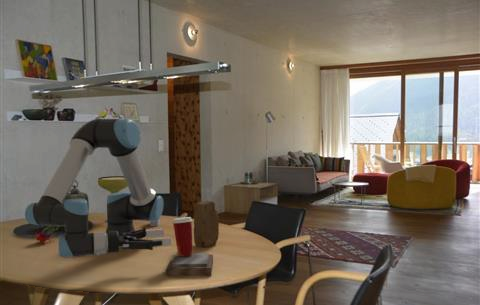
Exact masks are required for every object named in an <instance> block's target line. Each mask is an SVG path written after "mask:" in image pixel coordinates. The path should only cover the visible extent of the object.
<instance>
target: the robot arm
mask: <svg viewBox="0 0 480 305" xmlns="http://www.w3.org/2000/svg"><path fill="white" fill-rule="evenodd" d="M140 131H141V130H140V128H139V126H138V124H137V123H136V122H135V121H134V120H133V119H130V118H94V119H91V120H90V121H88V122H85V124H83V125H82V126H81V127H80V128H79V129H78V130H77V131H76V132H75V133H74V134H73V136H72V137H71V139H70V140H69V143H68V144H69V147H68V149H67V151H66V153H65V155H64V157H63V158H62V159H61V160H62V161H61V162H60V164H59V165H58V167H57V169H56V171H55V172H54V174H53V176H52V178H50V181H49V183H48V185H47V186H46V188H45V190H44V191H43V194H42V195H41V197H40V198H39V200H38V202H31V203H30V204H28V205H27V207H26V208H25V211H24V218H25V221H26V222H27V223H28V224H31V225H36V226H59V227H64V234H62V235H59V236H58V255H59V256H60V257H61V258H75V257H77V258H78V257H83V256H84V257H85V256H91V255H93V256H94V255H96V256H100V255H102V254H107V253H108V254H113V253H119V251H120V247H122V250H149V251H153V250H154V248H158V247H160V248H161V247H169V246H172V237H171V236H170V237H164V231H165V230H164V228H159V229H148V230H146V228H141V229H137V230H136V229H135V226H134V221H141V222H150V221H157V220H158V219H159V218H160V219H161V216H162V214H163V211H164V198H163V196H161V195H157V194H156V191H155V189H153V188H152V187H150V185H149V182H148V179H147V176H146V174H145V171H144V168H143V166H142V162H141V159H140V157H139V154H138V152H137V149H138V147H139V145H140V142H141V132H140ZM98 148H99V149H100V148H102V149H103V148H104V149H105V148H107V149H108V151H109V153H110V155H111V156H112V157H115V158H116V161H117V163H118V165H119V168H120V170H121V173H122V176H124V178H125V180H126V183H127V185H128V186H127V188H128V190H129V191H119V192H118V193H113V194H112V193H110V194H109V195H107V198H106V220H107V222H106V223H107V224H106V228H105V231H96V232H95V231H93V232H89V214H88V204H87V201H86V200H85V199H80V198H78V199H68V200H66V201H65V202H64V200H65V198H66V197H67V195H68V193H70V190H71V189H72V188H73V187H72V185H73V186H74V183H76V182H75V180H76V181H77V178H78V177H79V176H78V175H79V174H80V172H81V170H82V168H83V167H84V165H85V163H86V160H87V159H88V157H89V156H91V155H92V154H93V153H94V151H95V150H97V149H98ZM63 202H64V204H63ZM145 238H146V239H145ZM148 238H152V239H148Z"/></svg>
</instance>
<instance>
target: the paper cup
mask: <svg viewBox="0 0 480 305" xmlns="http://www.w3.org/2000/svg"><path fill="white" fill-rule="evenodd" d="M172 224H173V232H174V237H175V238H174V239H175V243H176V250H177V253H178V256H188V255H192V254H193V253H194V252H193V251H194V250H193V249H194V248H193V247H194V246H193V245H194V244H193V219H192V217H191V216H185V217H184V216H183V217H177V218H173V221H172Z"/></svg>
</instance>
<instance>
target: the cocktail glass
mask: <svg viewBox="0 0 480 305" xmlns="http://www.w3.org/2000/svg"><path fill="white" fill-rule="evenodd" d="M97 185H98V186H99V187H100V188H101V189H104V190H105V191H108V192H110V194H113V193H118V192H121V191H122V190H124V189H125V188H128V185H127V183H126V180H125V178H124V175H118V176H117V175H113V176H112V175H111V176H103V177H102V176H101V177H98V179H97ZM104 222H105V223H107V219H105V221H104Z"/></svg>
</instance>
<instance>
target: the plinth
mask: <svg viewBox="0 0 480 305" xmlns="http://www.w3.org/2000/svg"><path fill="white" fill-rule="evenodd" d="M213 265H214V254H210V253H209V252H208V253H207V252H198V253H197V252H196V253H195V252H193V254H192V255H188V256H178V252H175V254H172V255H171V257H170V260H169V262H168V263H167V266H166V270H165V271H166V277H212V272H213Z"/></svg>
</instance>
